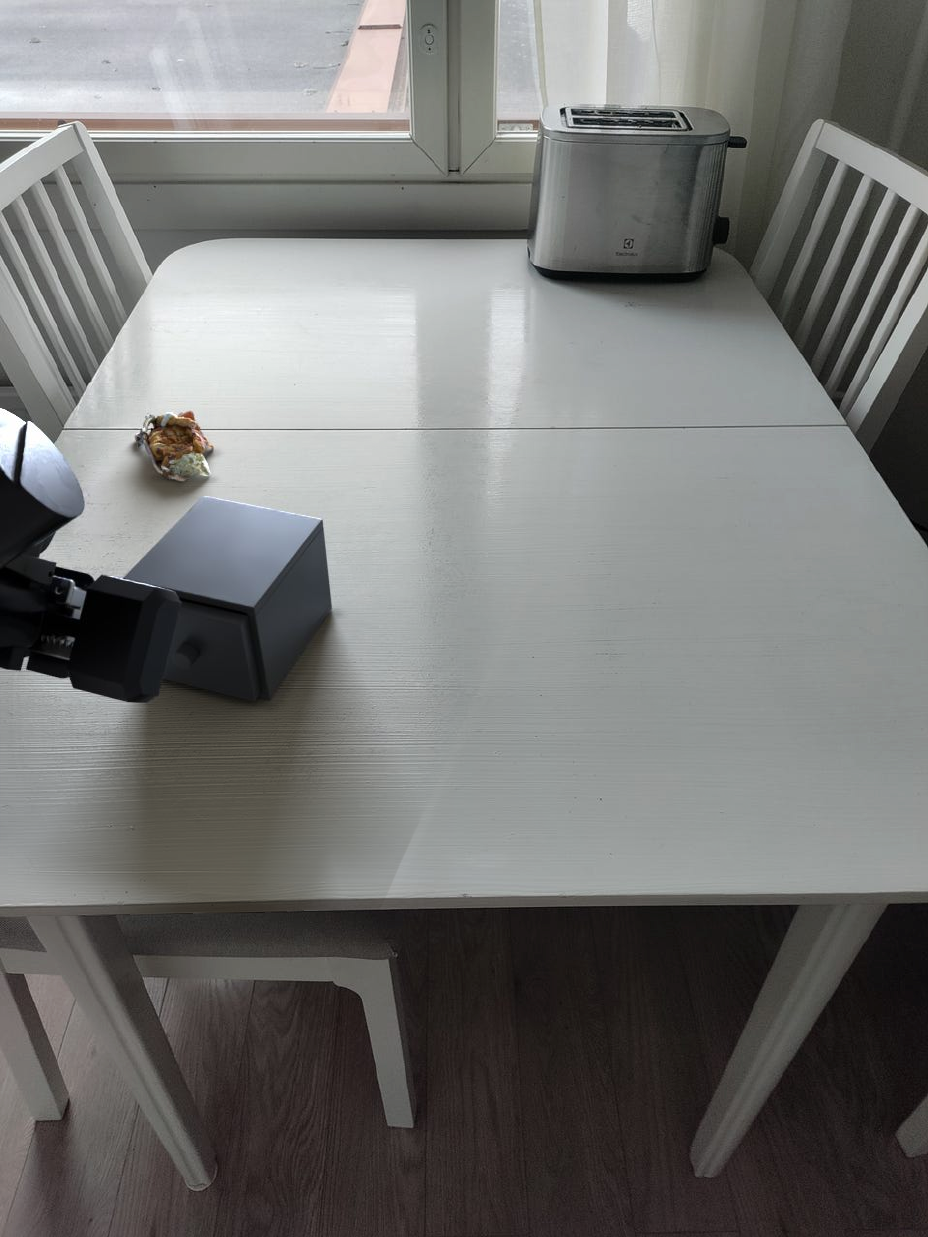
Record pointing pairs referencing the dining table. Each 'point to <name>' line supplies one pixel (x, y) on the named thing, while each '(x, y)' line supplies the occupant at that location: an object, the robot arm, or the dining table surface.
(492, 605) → the dining table surface
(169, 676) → the fryer drawer
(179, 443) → the pastry
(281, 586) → the dark grey box
